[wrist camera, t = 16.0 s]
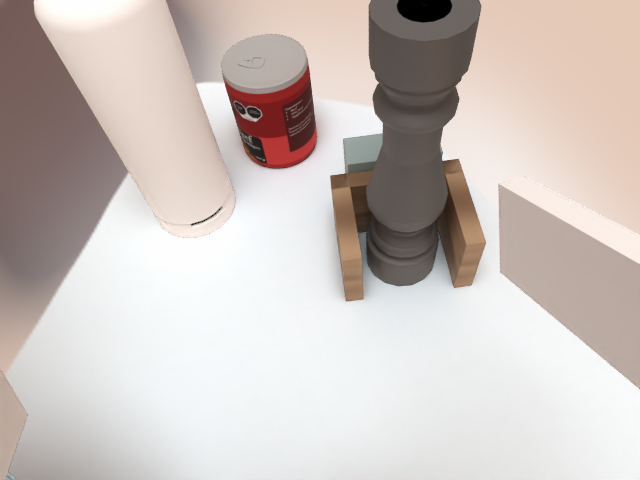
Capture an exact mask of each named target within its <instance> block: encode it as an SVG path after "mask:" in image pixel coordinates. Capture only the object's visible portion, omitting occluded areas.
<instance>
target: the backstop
mask: <svg viewBox="0 0 640 480" xmlns="http://www.w3.org/2000/svg"><path fill="white" fill-rule="evenodd" d="M382 141H383V134H375V135H367V136H360V137H352V138H345V139H343V144H344V159H345V174H347V173H355V172H362V171H370V170H373V169H374V166H375V163H376V160H377V158H378V155H379V152H380V149H381V146H382ZM440 150H441V156H442V154H443V151H442V148H441V145H440Z"/></svg>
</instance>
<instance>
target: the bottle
mask: <svg viewBox="0 0 640 480" xmlns="http://www.w3.org/2000/svg"><path fill="white" fill-rule="evenodd" d="M34 9H35V16H36V18H37V20H38V21H39V23H40V25H41V26H42V28H43V30H44V31H45V33H46V35H47V36H48V38H49V39H50V41H51V43H52V44H53V46H54V48H55V50H56V51H57V53H58V55H59V56H60V58H61V60H62V61H63V63H64V65H65V66H66V68H67V70H68V71H69V73H70V75H71V76H72V78H73V80H74V81H75V83H76V85H77V86H78V88H79V90H80V91H81V93H82V94H83V96H84V98H85V100H86V101H87V103H88V104H89V106H90V108H91V109H92V111H93V113H94V115H95V116H96V118H97V120H98V121H99V123H100V124H101V126H102V128H103V130H104V131H105V133H106V134H107V136H108V138H109V140H110V141H111V143H112V144H113V146H114V148H115V150H116V151H117V153H118V154H119V156H120V158H121V159H122V161H123V163H124V164H125V166H126V168H127V169H128V171H129V173H130V174H131V176H132V178H133V179H134V181H135V183H136V184H137V186H138V188H139V189H140V191H141V193H142V194H143V196H144V198H145V199H146V201H147V203H148V204H149V206H150V208H151V209H152V211H153V213H154V214H155V216H156V218H157V219H158V221H159V223H160V224H161V226H162V227H163V229H164V230H166V231H167V232H169V233H170V234H172V235H175V236H178V237H182V238H197V237H200V236H203V235H207V234H210V233H211V232H213V231H215V230H216V229H218V228H220V227H221V226H222V225H223V224H224V223H225V222H226V221H227V220H228V219H229V217H230V216H231V214H232V212H233V210H234V206H235V199H236V198H235V194H234V191H233V187H232V185H231V182H230V179H229V178H228V174H227V171H226V168H225V165H224V162H223V159H222V157H221V154H220V151H219V148H218V145H217V143H216V140H215V137H214V134H213V132H212V129H211V126H210V123H209V120H208V118H207V115H206V112H205V109H204V106H203V104H202V101H201V98H200V95H199V92H198V90H197V87H196V84H195V81H194V78H193V76H192V73H191V70H190V68H189V65H188V62H187V59H186V56H185V53H184V51H183V48H182V45H181V42H180V39H179V36H178V34H177V31H176V28H175V25H174V23H173V20H172V17H171V14H170V11H169V9H168V6H167V4H166V0H34ZM221 206H222V208H221V209H220V210H219V211H218V212H217V213H216V214H215V215H214V216H213V217H211V218H209V219H208V220H206V221H204V222H202V223H198V224H195V225H191V224H192V223H196V222H199V221H203V220H204V219H206V218H208V217H210V216H211V215H213V214H214V213H215V212H216V211H217V210H218V209H219V208H220V207H221Z"/></svg>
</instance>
